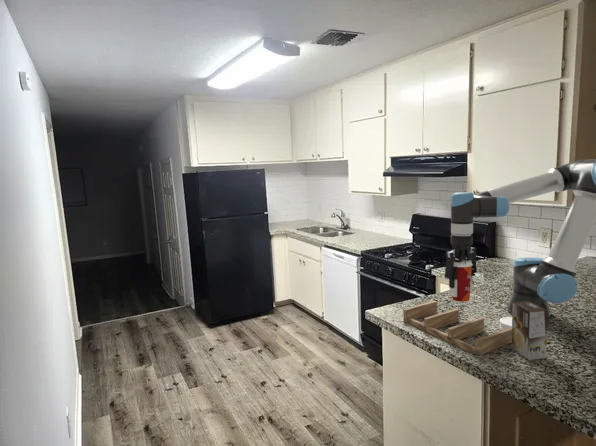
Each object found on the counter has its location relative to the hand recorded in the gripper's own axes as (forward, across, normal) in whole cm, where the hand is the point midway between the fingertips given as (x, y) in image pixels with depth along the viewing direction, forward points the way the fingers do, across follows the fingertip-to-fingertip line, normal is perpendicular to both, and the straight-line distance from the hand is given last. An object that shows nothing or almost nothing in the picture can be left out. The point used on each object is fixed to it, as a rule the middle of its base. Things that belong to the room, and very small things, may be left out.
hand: (460, 293), depth 146 cm
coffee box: (+14, -2, +25) cm, 29 cm away
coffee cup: (+2, 0, 0) cm, 2 cm away
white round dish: (+14, -15, +12) cm, 24 cm away
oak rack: (+14, +4, 0) cm, 14 cm away
